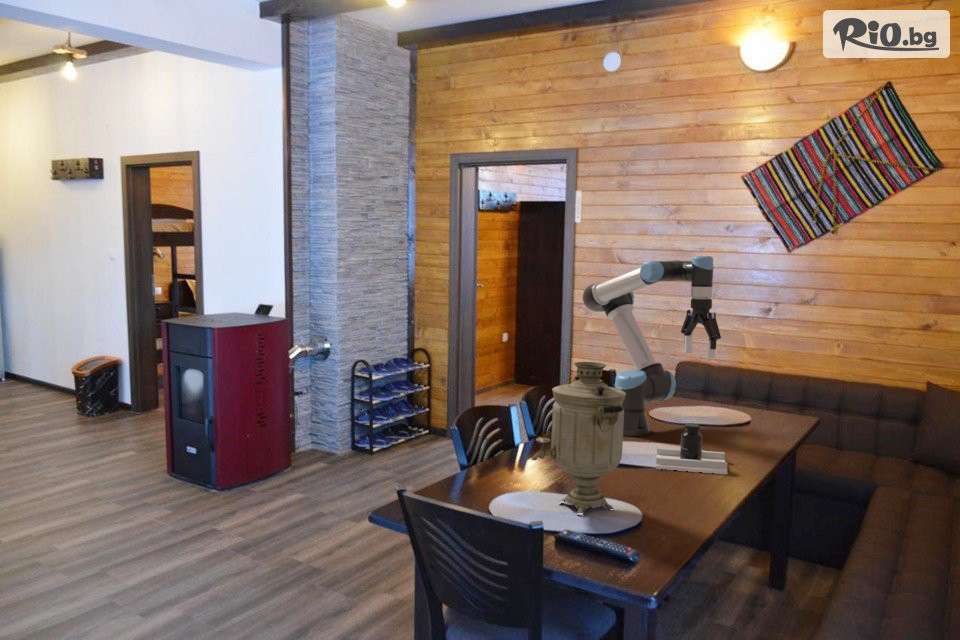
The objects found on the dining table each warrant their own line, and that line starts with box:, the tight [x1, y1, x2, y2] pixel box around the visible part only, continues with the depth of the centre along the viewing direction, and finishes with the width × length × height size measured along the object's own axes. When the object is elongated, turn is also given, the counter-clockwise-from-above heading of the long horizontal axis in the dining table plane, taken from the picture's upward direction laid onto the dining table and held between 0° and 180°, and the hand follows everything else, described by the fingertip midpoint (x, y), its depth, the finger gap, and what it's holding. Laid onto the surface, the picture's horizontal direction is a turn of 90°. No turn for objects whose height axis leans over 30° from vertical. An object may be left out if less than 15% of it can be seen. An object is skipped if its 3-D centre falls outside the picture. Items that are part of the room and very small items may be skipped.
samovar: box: [531, 361, 626, 514], centre depth 202 cm, size 30×26×40 cm
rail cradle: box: [655, 447, 729, 475], centre depth 243 cm, size 22×16×3 cm
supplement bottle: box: [679, 422, 703, 460], centre depth 243 cm, size 7×7×12 cm
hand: (699, 355), depth 272 cm, fingers open, 13 cm apart
